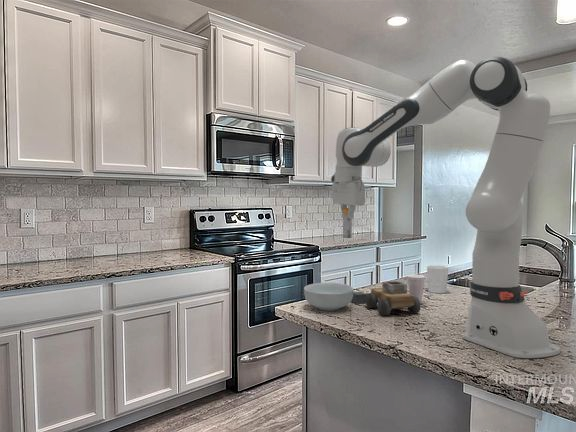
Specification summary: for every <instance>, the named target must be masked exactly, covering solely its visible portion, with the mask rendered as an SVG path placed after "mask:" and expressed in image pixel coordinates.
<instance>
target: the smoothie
mask: <svg viewBox="0 0 576 432" xmlns="http://www.w3.org/2000/svg"><path fill="white" fill-rule="evenodd" d="M417 266H418V265H417V263H414V274H407V275H406V279H407V287H408V292H409V293H408V294H410V295H413V296H414V297H417V298H418V299H419V301H420V305H421V304H422V302H423V294H424V286H425V280H426V275H422V274H417V273H418V272H417V269H418V267H417Z"/></svg>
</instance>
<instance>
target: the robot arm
mask: <svg viewBox="0 0 576 432" xmlns="http://www.w3.org/2000/svg"><path fill="white" fill-rule="evenodd" d="M472 99H474V100H475V99H477V100H478V101H479V102H480V103H482V104H483V105H485V106H487V107H488V108H490V109H492V110H494V111H498V112H499V120H498V121H499V122H498V125H497V128H496V131H495V134H494V138H493V141H492V144H491V148H490V151H489V153H488V157H487V159H486V160H487V161H486V163H485V165H484V168H483V170H482V172H481V174H480V176H479V178H478V181H477V183H476V185H475V187H474V190H473V192H472V195H471V197H470V199H469V200H468V202H467V203H466V207H465V216H466V219H467V222H468V223H469V224H470V225H471V226H472V227H473V228H474V229H476V235H475V236H476V238H475V243H474V247H473V251H472V259H471V260H472V263H471V264H472V267H471V269H472V270H471V271H472V277H471V278H472V279H471V281H470V286H469V293H470V296H471V300H470V303H469V306H468V310H467V311H468V312H467V318H466V319H467V320H466V329H465V332H463V336H462V338H463V340H466V341H469V342H471V343H474V344H477V345H479V346H482V347H484V348H488V349H491V350H493V351H497V352H499V353H501V354H504V355H506V356H510V357H512V358H518V359H519V358H522V359H535V358H536V359H537V358H538V359H539V358H547V357H552V356H557V355H559V354H560V353H561V347H560V346H559V345H556V344H554V343H552V342H551V341H550V337H549V331H548V326H547V324H546V322H544V321H543V320H542V319H541V317H539V315H537V314H536V313H535V312H534V310H533V309H531V307H530V306H529V305H528V304H527V303H526V302H525V301H526V300H525V297H528V296H529V295H528V293H529V291H523V290H522V286H521V285H520V253H521V252H520V251H521V245H522V237H523V236H522V235H523V224H524V204H523V202H522V197H523V195H524V193H525V190H526V189H527V186H528V184H529V182H530V180H531V178H532V175H533V174H534V173H535V169H536V165H537V162H538V160H539V156H540V153H541V150H542V147H543V145H544V142H545V138H546V135H547V131H548V126H549V122H550V121H549V120H550V114H551V103H550V101H549V99H548V98H547V97H545V96H544V95H541V94H540V93H537V92H536V93H535V92H531V91H528V82H527V80H526V78H525V76H524V75H523V73H522V71H521V70H520V69H519V67H518V66H517V65H515V64H514V63H513V61H511V59H508V58H506V57H502V56H491V57H487V58H485V59H483V60H481V61H480V62H479V63H477V65H476V64H475V63H474V62H473V61H470V60H467V59H459V60H457V61H456V60H455V62H453V63H451V64H450V65H448V66H447V67H445V68H444V69H442V70H441V71H439V72H438V73H436V75H433V77H432V78H430V79H429V80H427V82H426V83H424V84H423V85H422V86H421V87H420V88H418V89H417V90H416V91H415V92H414V93H412V94H411V95H409V96H408V97H407V98H405V99H404V100H402V101H400V102H399V103H398V104H396V105H394V106H393V107H392V108H390V109H389V110H387V111H386V112H385V113H383V114H382V115H381V116H379V117H378V118H377V119H375V120H374V121H373V122H371V123H370V124H369V125H367V126H366V127H365V128H362V129H361V128H359V127H355V126H354V127H346V128H344V129H342V130H340V131H339V132H338V134H337V138H336V143H335V144H336V145H335V157H336V164H335V168H334V169H335V170H334V171H335V172H334V173H333V175H332V176H330V183H332V184H331V185H332V186H331V199H332V203H333V204H336V205H340V210H341V218H342V219H343V208H349V209H348V213H347V218H348V219H352V220H353V219H354V214H355V210H356V206H358V207H359V206H365V203H366V189H365V183H364V182H363V179H362V177H363V173H362V172H363V167H373V168H377V167H381V166H383V165H385V164H386V163H387V162H388V161H389V159H390V156H391V145H390V144H389V142H388V141H387V139H389V138H390V137H392V136H393V135H394V134H395V133H398V132H399V131H400V130H403V129H404V128H407V127H411V126H417V125H418V126H419V125H420V126H421V125H430V124H434V123H436V122H438V121H440V120H442V119H444V118H445V117H447V116H448V115H449V114H451V113H452V112H454V111H455V110H456V109H457V108H459V107H460V106H461V105H462V104H464V103H465V102H467V101H469V100H472Z"/></svg>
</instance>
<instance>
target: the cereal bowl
mask: <svg viewBox="0 0 576 432" xmlns="http://www.w3.org/2000/svg"><path fill="white" fill-rule="evenodd" d="M353 292H354V288H353V287H352V285H349V284H345V283H341V282H340V283H338V282H317V283H316V282H315V283H311V284H307V285H306V286H304V287H303V294H304V298H305V300H306V302H307V303H308V304H309V305H311V306H313V307H315V308H317V309H318V310H321V311H326V312H328V311H329V312H331V311H338V310H340V309H341V308H343V307H346V306H348V305H349V304H350V303H351V302H352V298H353Z"/></svg>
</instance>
